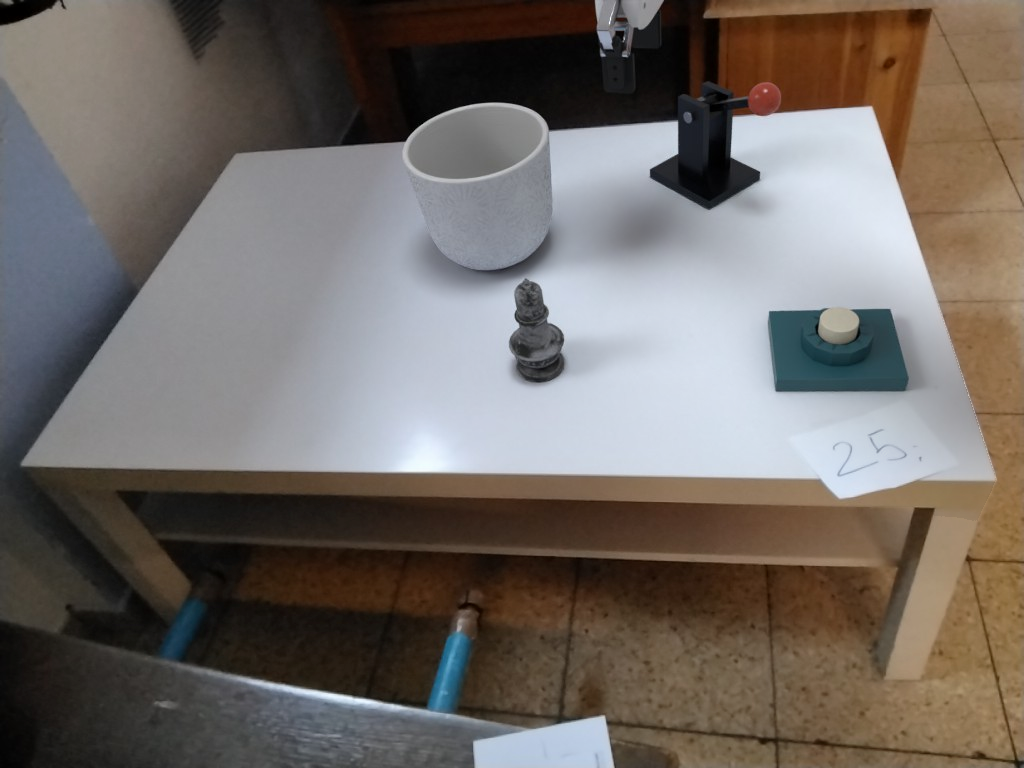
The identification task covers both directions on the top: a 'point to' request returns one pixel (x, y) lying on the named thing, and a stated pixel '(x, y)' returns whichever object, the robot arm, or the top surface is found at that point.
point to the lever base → (704, 153)
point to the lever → (747, 101)
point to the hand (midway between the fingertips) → (633, 68)
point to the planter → (483, 182)
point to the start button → (838, 326)
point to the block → (836, 354)
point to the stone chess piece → (535, 336)
